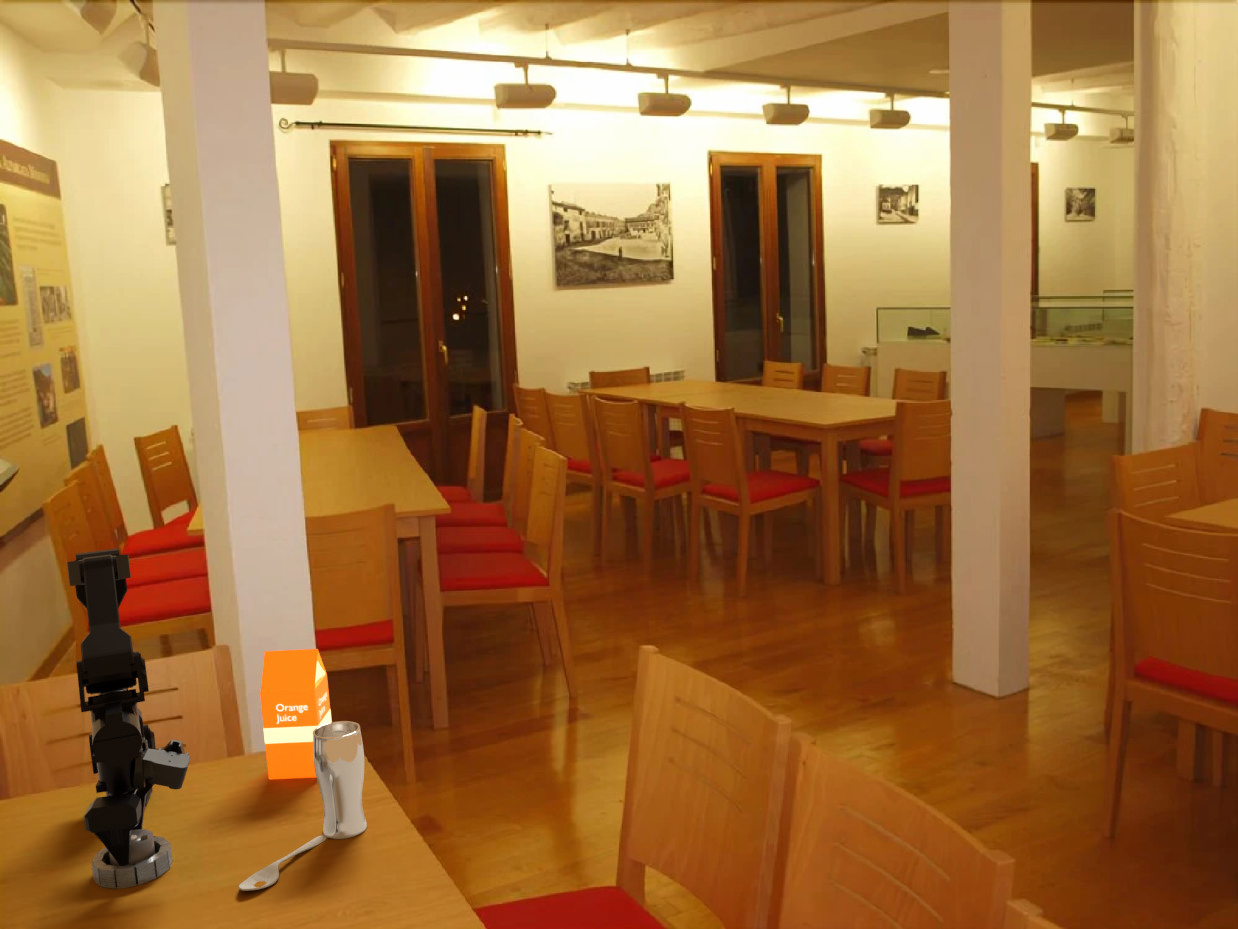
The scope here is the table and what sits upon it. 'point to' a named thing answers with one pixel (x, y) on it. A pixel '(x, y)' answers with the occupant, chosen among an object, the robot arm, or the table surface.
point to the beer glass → (340, 777)
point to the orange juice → (293, 710)
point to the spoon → (276, 867)
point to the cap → (139, 847)
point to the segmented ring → (132, 867)
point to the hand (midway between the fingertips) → (131, 849)
